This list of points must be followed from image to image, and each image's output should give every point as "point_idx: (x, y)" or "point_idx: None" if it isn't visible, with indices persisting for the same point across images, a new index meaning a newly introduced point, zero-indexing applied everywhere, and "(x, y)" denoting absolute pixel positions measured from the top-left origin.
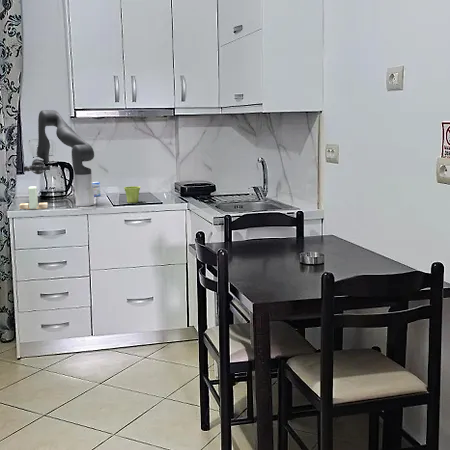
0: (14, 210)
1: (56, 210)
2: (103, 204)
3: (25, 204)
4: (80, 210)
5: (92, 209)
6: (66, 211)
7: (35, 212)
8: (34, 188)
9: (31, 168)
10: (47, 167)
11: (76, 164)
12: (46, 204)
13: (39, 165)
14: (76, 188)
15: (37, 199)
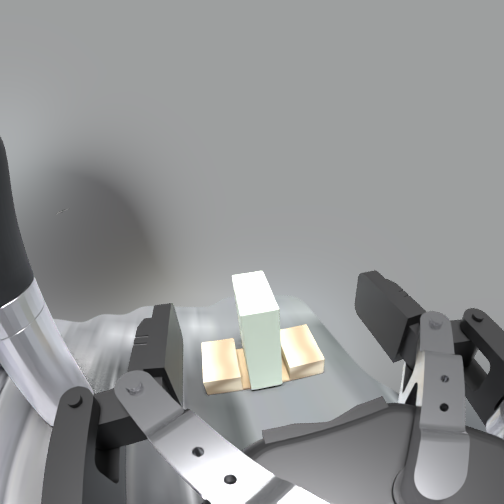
0: (317, 326)
1: None
2: (17, 399)
3: (289, 339)
4: (106, 320)
5: (76, 328)
6: (143, 311)
7: (230, 302)
8: (235, 275)
9: (409, 386)
10: (109, 397)
11: (17, 224)
12: (202, 345)
13: (293, 488)
14: (59, 333)
15: (248, 367)
